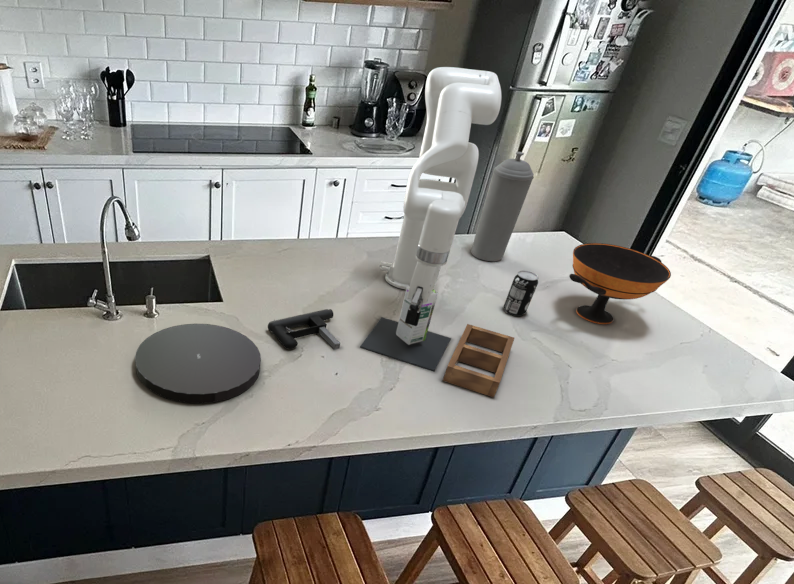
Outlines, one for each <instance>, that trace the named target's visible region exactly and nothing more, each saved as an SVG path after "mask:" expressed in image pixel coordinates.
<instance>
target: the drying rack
mask: <svg viewBox="0 0 794 584" xmlns="http://www.w3.org/2000/svg"><path fill="white" fill-rule="evenodd" d="M514 342H515V337H513V336H511V335H507V334H504V333H500V332H496V331H494V330H489V329H486V328H483V327H479V326H477V325H473V324H470V323H467V324H466V326H465V328H464V330H463V332H462V334H461V336H460V338H459V341H458V343H457V345H456V347H455V349H454V351H453V353H452V355H451V357H450V359H449V361H448V363H447V365H446V368H445V371H444V375H443V378H442V382H445V383H449V384H451V385H454V386H458V387H461V388H463V389H466V390H470V391H472V392H475V393H479V394H482V395H485V396H488V397H491V398H495V396H496V394H497V391H498V389H499V386H500V383H501V381H502V377H503V374H504V372H505V369H506V365H507V363H508V360H509V356H510V353H511V350H512V348H513V344H514ZM467 343H470V344H473V345H476V346H480V347H483V348H487V349H488V350H489V349H490V350H492V351H496V352H500V353H501V354H498V353H494V352H492V351H488V350H485V349H482V348H478V347H475V346H472V345H468V344H467ZM458 362H460V363H463V364H466V365H468V366H473V367H476V368H479V369H481V370H485V371H487V372H492V373H494V375H493V376H490V375H488V374H485V373H483V372H478V371H475V370H472V369H468V368H466V367H463V366H460V365H458Z"/></svg>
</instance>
